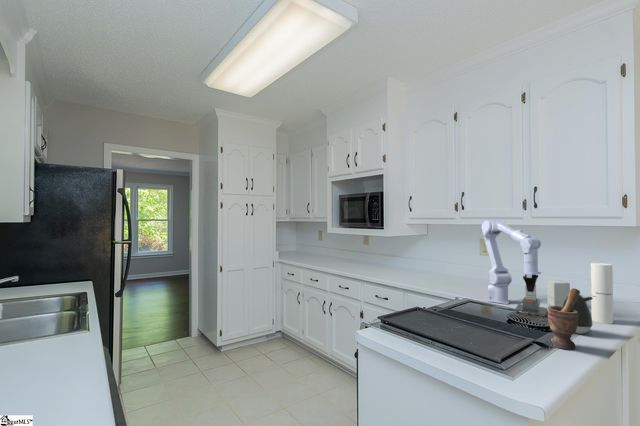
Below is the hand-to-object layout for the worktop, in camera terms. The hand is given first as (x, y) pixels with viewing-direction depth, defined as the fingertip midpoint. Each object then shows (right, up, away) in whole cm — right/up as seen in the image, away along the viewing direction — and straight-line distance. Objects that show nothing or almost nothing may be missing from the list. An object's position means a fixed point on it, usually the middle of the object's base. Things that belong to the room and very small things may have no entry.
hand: (530, 290), depth 157 cm
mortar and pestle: (-14, -10, -40) cm, 44 cm away
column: (0, -6, 0) cm, 6 cm away
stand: (0, -10, 0) cm, 10 cm away
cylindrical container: (+22, -10, -14) cm, 28 cm away
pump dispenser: (+1, -10, -27) cm, 29 cm away
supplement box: (+20, -11, +10) cm, 25 cm away
